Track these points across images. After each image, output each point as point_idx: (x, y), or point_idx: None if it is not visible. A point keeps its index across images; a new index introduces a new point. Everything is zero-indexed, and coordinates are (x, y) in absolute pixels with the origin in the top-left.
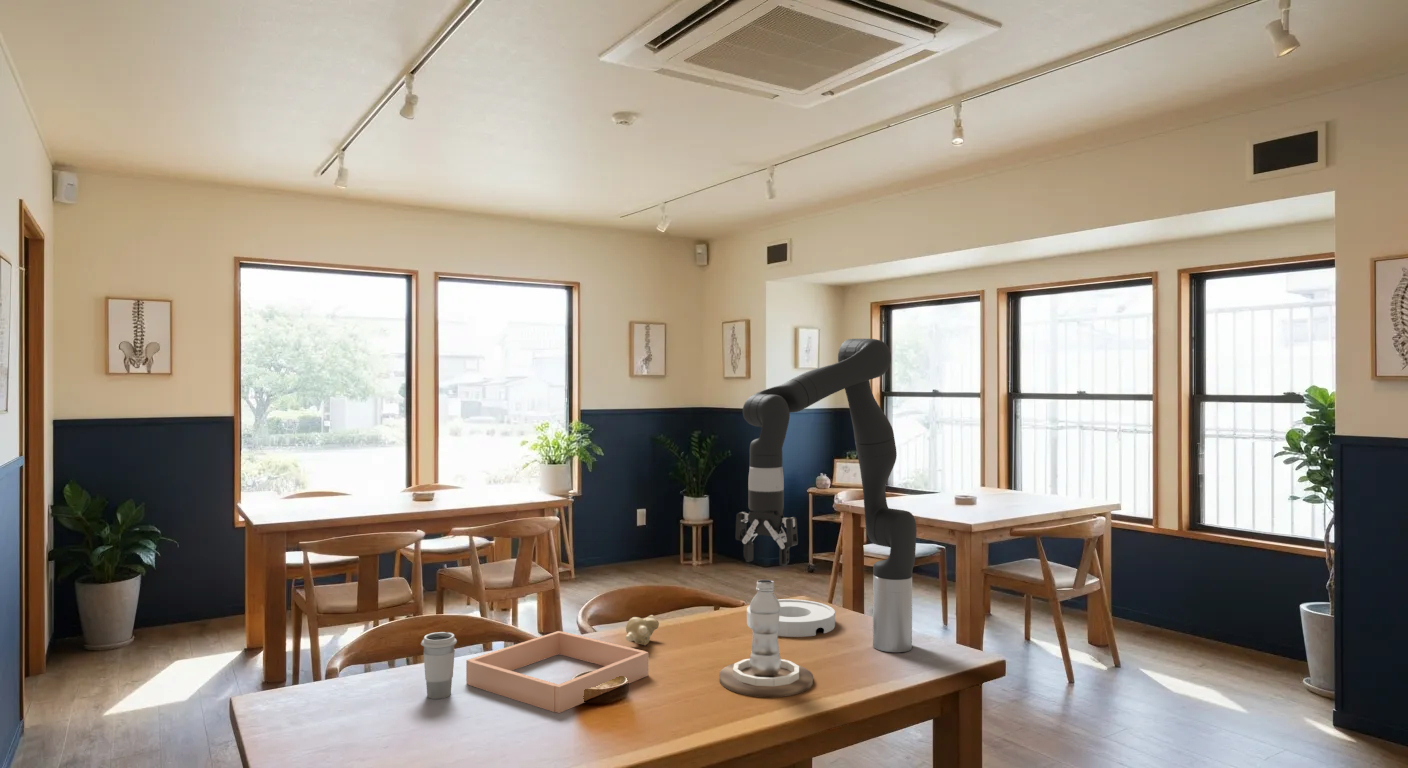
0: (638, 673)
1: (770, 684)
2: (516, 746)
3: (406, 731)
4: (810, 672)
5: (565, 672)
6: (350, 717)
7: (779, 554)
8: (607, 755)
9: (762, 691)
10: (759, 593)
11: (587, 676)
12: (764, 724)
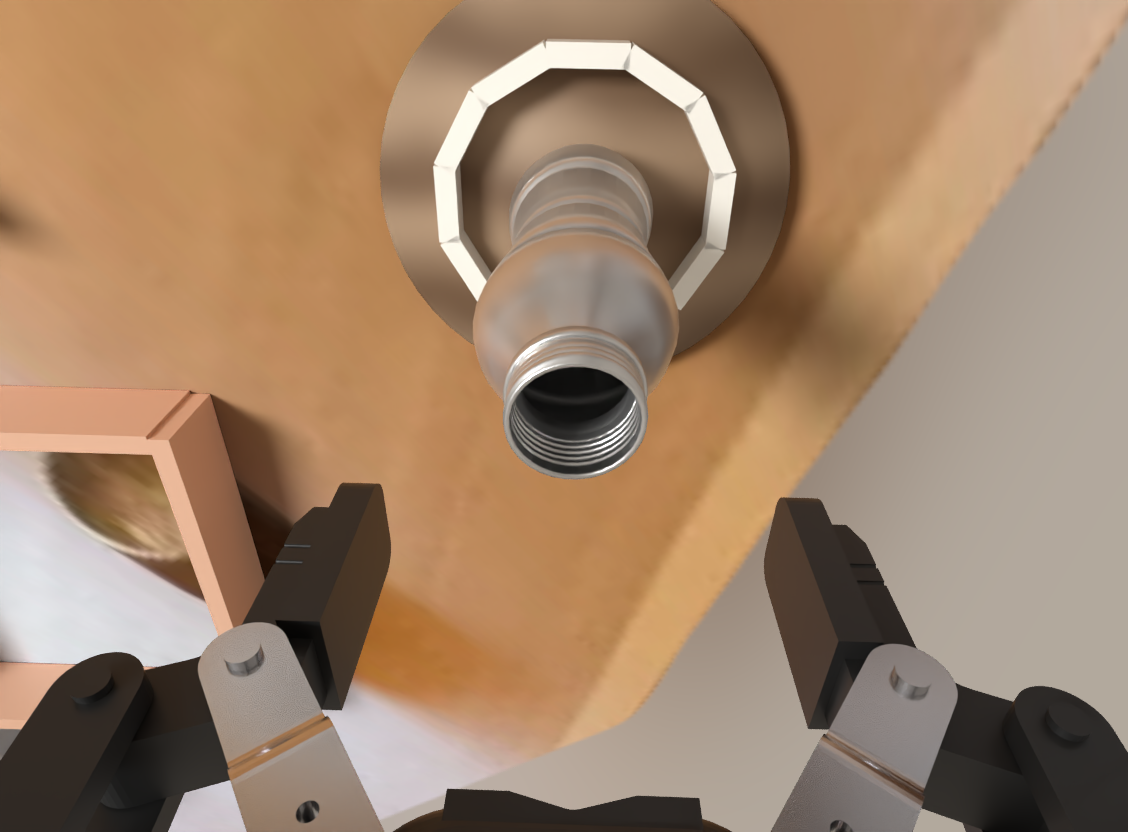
0: (213, 450)
1: None
2: (379, 787)
3: (177, 822)
4: (745, 43)
5: (14, 504)
6: None
7: (793, 669)
8: (544, 751)
9: None
10: (559, 427)
11: None
12: (762, 514)
